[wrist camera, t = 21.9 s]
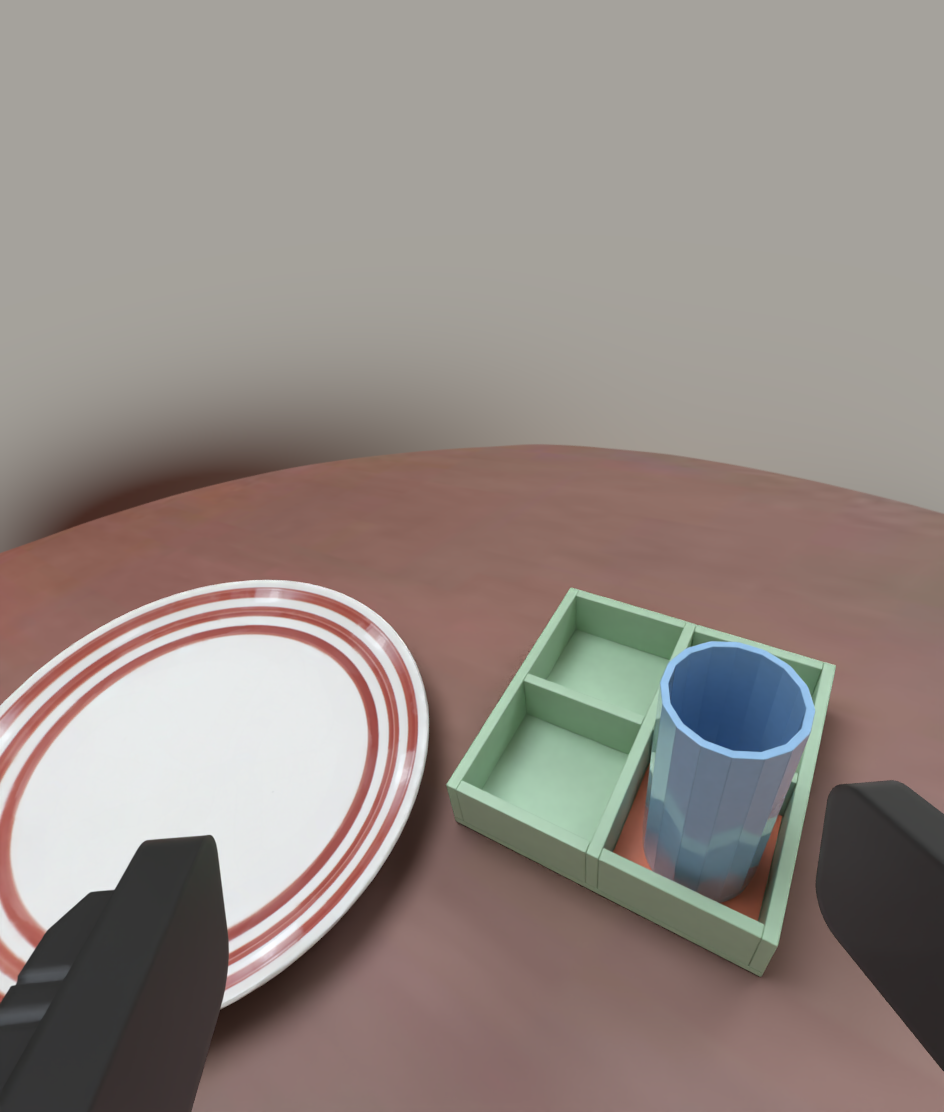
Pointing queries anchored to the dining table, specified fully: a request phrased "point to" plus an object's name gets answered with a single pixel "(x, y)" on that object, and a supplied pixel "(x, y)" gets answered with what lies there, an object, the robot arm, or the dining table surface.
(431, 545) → the dining table surface
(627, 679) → the compartment tray
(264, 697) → the dinner plate
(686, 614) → the dining table surface
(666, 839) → the tumbler
